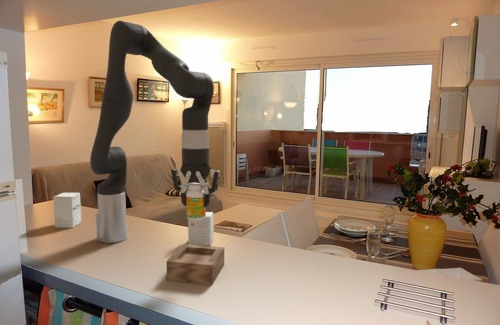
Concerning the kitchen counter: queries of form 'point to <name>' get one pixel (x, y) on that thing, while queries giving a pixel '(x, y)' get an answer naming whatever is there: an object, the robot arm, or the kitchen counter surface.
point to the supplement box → (67, 210)
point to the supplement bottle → (195, 202)
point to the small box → (201, 230)
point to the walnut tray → (195, 264)
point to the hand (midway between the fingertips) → (196, 205)
